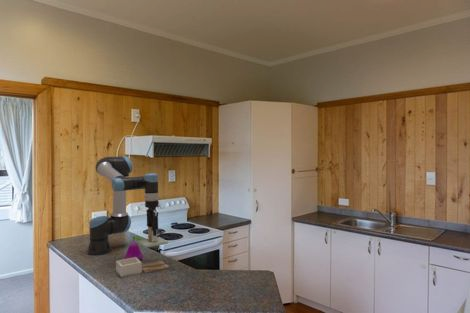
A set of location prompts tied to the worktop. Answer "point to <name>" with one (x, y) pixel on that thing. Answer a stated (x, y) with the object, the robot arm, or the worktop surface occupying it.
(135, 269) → the white open box
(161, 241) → the lid
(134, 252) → the magenta low-poly plum
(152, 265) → the mat
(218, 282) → the worktop surface
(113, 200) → the robot arm
